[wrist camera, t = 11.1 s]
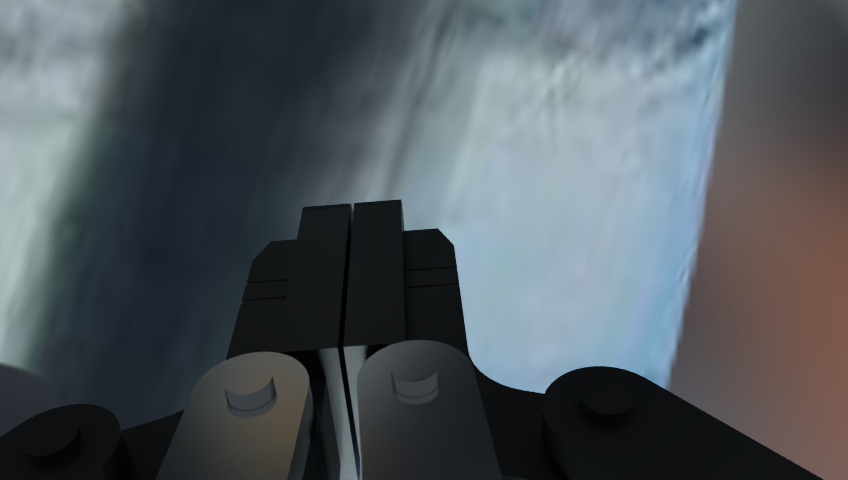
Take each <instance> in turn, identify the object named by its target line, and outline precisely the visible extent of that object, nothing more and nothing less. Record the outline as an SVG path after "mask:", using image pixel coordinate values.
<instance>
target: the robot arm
mask: <svg viewBox="0 0 848 480" xmlns="http://www.w3.org/2000/svg"><path fill="white" fill-rule="evenodd" d="M360 462H361V469H362V477H363V480H823V479H822V478H820V477H818V476H816V475H815V474H813V473H811V472H809V471H807V470H806V469H804V468H802V467H800V466H799V465H797V464H795V463H793V462H792V461H790V460H788V459H786V458H785V457H783V456H781V455H779V454H778V453H776V452H774V451H772V450H771V449H769V448H767V447H765V446H764V445H762V444H760V443H758V442H757V441H755V440H753V439H751V438H749V437H748V436H746V435H744V434H743V433H740V432H739V431H737V430H736V429H734V428H732V427H730V426H729V425H727V424H725V423H723V422H722V421H720V420H718V419H716V418H714V417H713V416H711V415H709V414H707V413H706V412H704V411H702V410H700V409H699V408H697V407H695V406H693V405H692V404H690V403H688V402H686V401H685V400H683V399H681V398H679V397H678V396H676V395H674V394H672V393H671V392H669V391H667V390H665V389H664V388H662V387H660V386H658V385H657V384H655V383H653V382H651V381H650V380H648V379H646V378H644V377H642V376H640V375H638V374H636V373H633V372H630V371H627V370H624V369H619V368H614V367H605V366H594V367H585V368H580V369H576V370H573V371H570V372H568V373H565V374H564V375H562V376H560V377H558V378H557V379H556V380H555V381H554V382H552V383H551V385H550V386H549V387H548V388H547V390H546V392H545V394H542V393H536V392H530V391H523V390H519V389H514V388H510V387H507V386H504V385H501V384H499V383H497V382H495V381H493V380H491V379H490V378H488V377H487V376H485V375H484V374H483V373H482V372H480V371H479V370H478V369H477V367H476V366H475V365H474V364H473V362H472V360H471V358H470V356H469V352H468V346H467V339H466V331H465V324H464V317H463V309H462V302H461V295H460V287H459V280H458V272H457V265H456V258H455V250H454V245H453V244H452V243H451V242H450V241H449V240H448V239H447V238H446V237H445V236H444V235H443V234H442V232H441V231H440V230H439V229H438V228H437V229H424V230H411V231H404V220H403V210H402V201H401V200H389V201H376V202H363V203H354V211H353V209H352V205H351V204H339V205H325V206H312V207H304V208H303V210H302V215H301V220H300V226H299V231H298V236H297V239H296V240H283V241H271V242H270V243H269V244H268V245H267V246H266V247H265V248H264V249H263V250H262V251H261V253H260V254H259V255H258V256H257V257H256V258H255V259H254V260H253V261H252V265H251V268H250V272H249V276H248V280H247V286H246V287H245V291H244V294H243V298H242V304H241V306H240V309H239V313H238V317H237V321H236V324H235V328H234V332H233V335H232V339H231V343H230V347H229V350H228V354H227V358H226V361H224V362H222V363H220V364H218V365H216V366H215V367H213V368H212V369H210V370H209V371H208V372H207V373H206V374H204V375H203V376H202V377H201V379H200V380H199V381H198V382H197V384H196V385H195V387H194V389H193V391H192V393H191V396H190V398H189V400H188V403H187V405H186V408H185V409H184V410H182V411H180V412H177V413H175V414H173V415H170V416H167V417H164V418H162V419H158V420H155V421H152V422H148V423H145V424H142V425H139V426H135V427H132V428H129V429H126V430H121V427H120V425H119V422H118V420H117V418H116V417H115V415H114V414H113V413H111V412H110V411H109V410H107V409H105V408H103V407H100V406H96V405H89V404H73V405H67V406H62V407H58V408H54V409H51V410H48V411H45V412H43V413H40V414H38V415H36V416H34V417H32V418H30V419H28V420H27V421H25V422H23V423H21V424H20V425H18V426H17V427H15V428H14V429H12V430H11V431H9V432H7V433H6V434H5V435H3V436H1V437H0V480H359V476H360Z"/></svg>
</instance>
